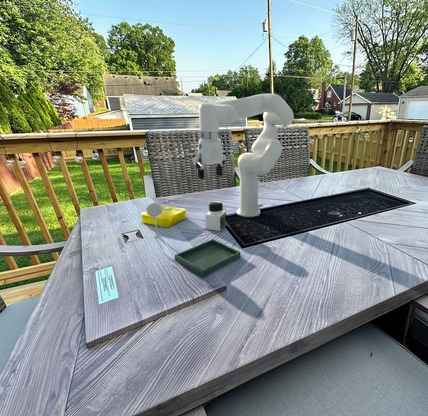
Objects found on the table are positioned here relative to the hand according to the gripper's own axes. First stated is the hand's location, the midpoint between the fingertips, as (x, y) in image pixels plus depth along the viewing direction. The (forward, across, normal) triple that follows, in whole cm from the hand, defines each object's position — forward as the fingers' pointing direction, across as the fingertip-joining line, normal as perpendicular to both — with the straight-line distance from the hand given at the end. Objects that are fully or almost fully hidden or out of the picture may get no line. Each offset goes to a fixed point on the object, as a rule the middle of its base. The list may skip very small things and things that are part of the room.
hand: (210, 177), depth 113 cm
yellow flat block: (+24, -11, +22) cm, 34 cm away
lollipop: (+24, -22, +7) cm, 33 cm away
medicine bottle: (+23, +1, -2) cm, 24 cm away
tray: (+23, -19, -22) cm, 37 cm away
